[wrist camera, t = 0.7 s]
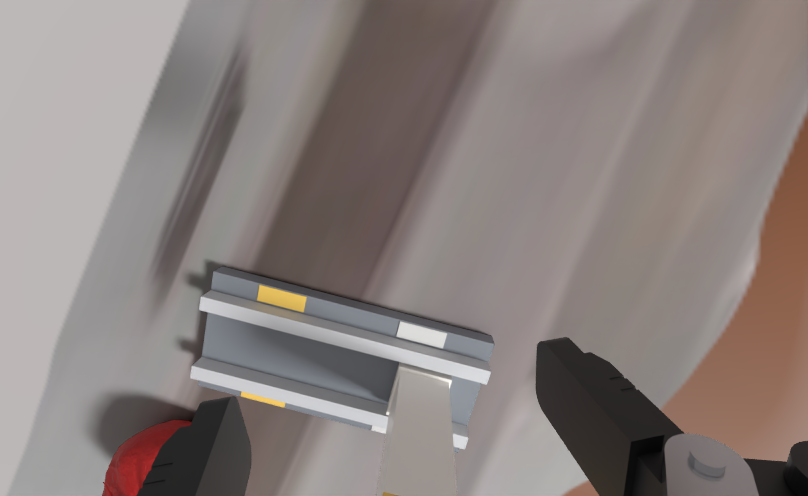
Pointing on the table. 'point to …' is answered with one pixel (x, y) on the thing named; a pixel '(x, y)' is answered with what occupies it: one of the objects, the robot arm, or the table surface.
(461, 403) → the switch plate
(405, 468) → the switch tab
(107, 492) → the red round fruit
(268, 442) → the table surface
